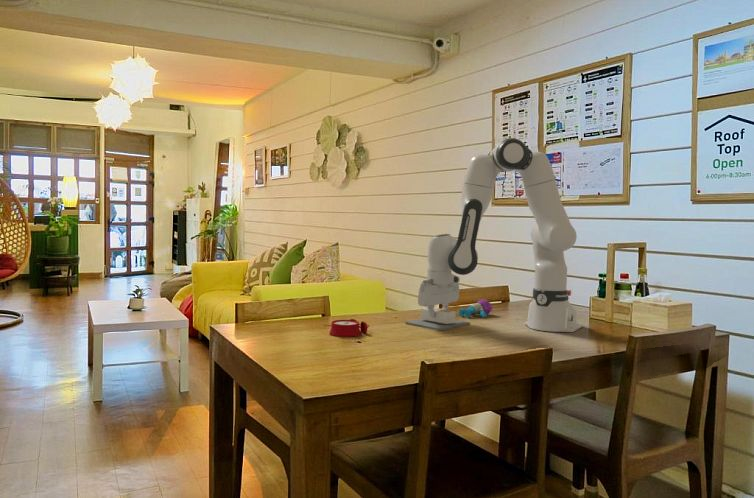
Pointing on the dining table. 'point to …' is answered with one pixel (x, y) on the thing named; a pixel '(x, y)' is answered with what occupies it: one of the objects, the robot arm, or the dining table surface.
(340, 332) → the alarm clock
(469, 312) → the toy
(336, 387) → the dining table surface
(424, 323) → the mat
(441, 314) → the white rectangular block
